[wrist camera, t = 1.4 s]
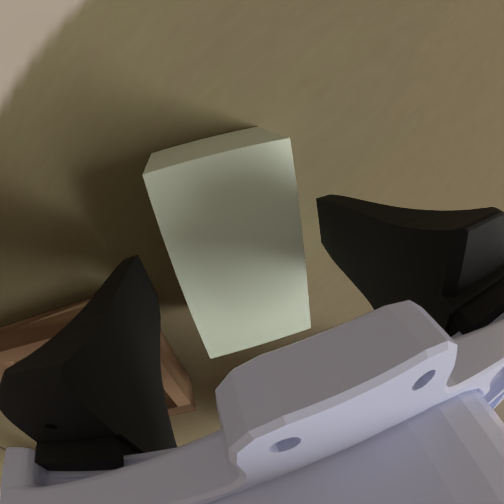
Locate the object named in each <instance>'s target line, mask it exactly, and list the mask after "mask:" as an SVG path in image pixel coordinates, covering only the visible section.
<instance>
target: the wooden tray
mask: <svg viewBox="0 0 504 504" xmlns="http://www.w3.org/2000/svg"><path fill="white" fill-rule="evenodd" d="M91 298H92V297H91ZM91 298H88V299H85V300H82V301H79V302H76V303H73V304H70V305H67V306H64V307H61V308H58V309H55V310H52V311H49V312H46V313H43V314H40V315H37V316H34V317H31V318H28V319H25V320H22V321H19V322H16V323H13V324H10V325H7V326H4V327H1V328H0V382H1V379H2V376H3V373H4V371H5V369H7V368H9V367H10V366H12V365H14V364H15V363H17V362H19V361H20V360H22V359H23V358H25V357H27V356H28V355H30V354H31V353H33V352H34V351H35V350H37V349H38V348H39V347H41V346H42V345H43V344H45V343H46V342H47V341H49V340H50V339H51V338H52V337H53V336H54V335H56V334H57V333H58V332H59V331H60V330H61V329H62V328H64V327H65V326H66V325H67V324H68V323H69V322H70V321H71V320H72V319H73V318H74V317H75V316H76V315H77V314H78V313H79V312H80V311H81V310H82V309H83V308H84V307H85V305H86V304H87V303H88V302H89V301H90V299H91ZM160 363H161V375H162V382H163V388H164V394H165V400H166V405H167V410H168V414H169V416H173V415H177V414H181V413H186V412H190V411H194V410H196V409H195V402H194V396H193V389H192V382H191V379H190V377H189V376H188V374H187V373H186V371H185V370H184V368H183V366H182V365H181V363H180V362H179V360H178V358H177V357H176V355H175V354H174V352H173V350H172V349H171V347H170V345H169V344H168V342H167V340H166V338H165V337H164V335H163V333H162V332H161V330H160Z"/></svg>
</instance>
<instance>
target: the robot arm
mask: <svg viewBox="0 0 504 504" xmlns="http://www.w3.org/2000/svg"><path fill="white" fill-rule="evenodd" d="M316 201H317V209H318V217H319V225H320V234H321V243H322V244H323V246H324V247H325V249H326V251H327V252H328V254H329V255H330V257H331V258H332V259H333V261H334V262H335V263H336V264H337V265H338V266H339V268H340V269H341V270H342V271H343V272H344V273H345V274H346V275H347V277H348V278H349V279H350V280H351V281H352V282H353V283H354V284H355V286H356V287H357V288H358V289H359V290H360V291H361V292H362V293H363V295H364V296H365V297H366V298H367V300H368V301H369V302H370V304H371V305H372V307H373V308H374V310H373V311H371V312H369V313H367V314H364V315H362V316H360V317H357V318H355V319H353V320H350V321H348V322H346V323H343V324H341V325H338V326H336V327H334V328H331V329H329V330H326V331H324V332H321V333H319V334H316V335H313V336H311V337H308V338H306V339H303V340H300V341H298V342H295V343H292V344H289V345H287V346H284V347H281V348H278V349H275V350H273V351H270V352H267V353H264V354H261V355H259V356H257V357H255V358H253V359H251V360H249V361H247V362H245V363H243V364H241V365H240V366H238V367H236V368H234V369H232V370H231V371H230V372H229V374H228V375H227V376H226V377H225V378H224V380H223V381H222V382H221V383H220V385H219V386H218V387H217V388H216V389H215V395H216V406H217V411H218V415H219V420H220V424H221V429H220V430H218V431H216V432H213V433H211V434H209V435H207V436H204V437H202V438H200V439H198V440H195V441H193V442H190V443H188V444H186V445H183V446H181V447H177V445H176V442H175V439H174V435H173V431H172V427H171V423H170V419H169V414H168V410H167V405H166V400H165V394H164V388H163V382H162V375H161V363H160V309H159V302H158V296H157V294H156V292H155V290H154V288H153V285H152V283H151V281H150V279H149V277H148V275H147V273H146V271H145V269H144V267H143V265H142V262H141V260H140V258H139V256H138V255H136V256H133V257H130V258H127V259H125V260H123V261H122V262H121V263H120V264H119V265H118V266H117V267H116V269H115V270H114V271H113V272H112V274H111V275H110V276H109V277H108V279H107V280H106V281H105V282H104V284H103V285H102V286H101V287H100V289H99V290H98V291H97V292H96V293H95V295H94V296H93V297H92V298H91V299H90V301H89V302H88V303H87V304H86V305H85V307H84V308H83V309H82V310H81V311H80V312H79V313H78V314H77V315H76V316H75V317H74V318H73V319H72V320H71V321H70V322H69V323H68V324H67V325H66V326H65V327H64V328H62V329H61V330H60V331H59V332H58V333H57V334H56V335H54V336H53V337H52V338H51V339H50V340H49V341H47V342H46V343H45V344H43V345H42V346H41V347H39V348H38V349H37V350H35V351H34V352H33V353H31V354H30V355H28V356H27V357H25V358H23V359H22V360H20V361H19V362H17V363H15V364H14V365H12V366H10V367H9V368H7V369H5V371H4V373H3V376H2V379H1V382H0V410H1V411H2V413H3V414H4V415H5V416H6V417H7V418H8V419H9V420H10V421H11V422H12V423H13V424H14V425H15V426H17V427H18V428H19V429H20V430H22V431H23V432H24V433H25V434H27V435H28V436H29V437H31V438H32V439H33V440H35V441H36V442H37V446H36V450H33V449H31V448H26V447H7V448H6V453H5V459H4V466H3V474H2V482H1V493H0V504H504V423H503V422H502V421H501V419H500V418H499V417H498V415H497V414H496V413H495V411H494V410H493V409H494V408H495V407H496V406H497V405H498V404H499V403H500V402H501V401H502V400H503V399H504V212H503V211H501V210H499V209H497V208H495V207H488V208H480V209H472V210H456V211H435V210H417V209H408V208H400V207H394V206H388V205H383V204H378V203H373V202H368V201H364V200H359V199H355V198H350V197H345V196H340V195H327V196H323V197H320V198H316Z"/></svg>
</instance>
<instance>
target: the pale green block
mask: <svg viewBox="0 0 504 504" xmlns="http://www.w3.org/2000/svg"><path fill="white" fill-rule="evenodd" d="M142 175H143V178H144V182H145V185H146V188H147V191H148V195H149V198H150V201H151V204H152V207H153V210H154V213H155V216H156V219H157V222H158V225H159V228H160V231H161V234H162V237H163V240H164V243H165V246H166V248H167V251H168V254H169V257H170V259H171V262H172V265H173V268H174V270H175V273H176V276H177V278H178V281H179V284H180V286H181V289H182V291H183V294H184V297H185V299H186V302H187V304H188V307H189V309H190V312H191V314H192V317H193V319H194V322H195V324H196V326H197V329H198V331H199V334H200V336H201V338H202V341H203V343H204V345H205V348H206V350H207V352H208V355H209V357H210V359H212V358H216V357H219V356H223V355H227V354H230V353H234V352H237V351H241V350H244V349H247V348H251V347H254V346H257V345H261V344H264V343H267V342H270V341H273V340H276V339H280V338H283V337H286V336H289V335H292V334H295V333H298V332H301V331H304V330H306V329H309V328H311V324H310V311H309V298H308V286H307V275H306V265H305V254H304V245H303V235H302V226H301V218H300V209H299V201H298V193H297V185H296V178H295V170H294V163H293V156H292V149H291V142H290V138H289V137H286V136H283V135H281V134H278V133H275V132H272V131H269V130H267V129H264V128H261V127H253V128H248V129H243V130H238V131H234V132H229V133H225V134H221V135H216V136H212V137H208V138H204V139H200V140H196V141H193V142H189V143H185V144H181V145H178V146H174V147H171V148H167V149H164V150H160V151H157V152H154V153H151V156H150V158H149V160H148V162H147V165H146V167H145V170H144V172H143V174H142Z"/></svg>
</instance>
